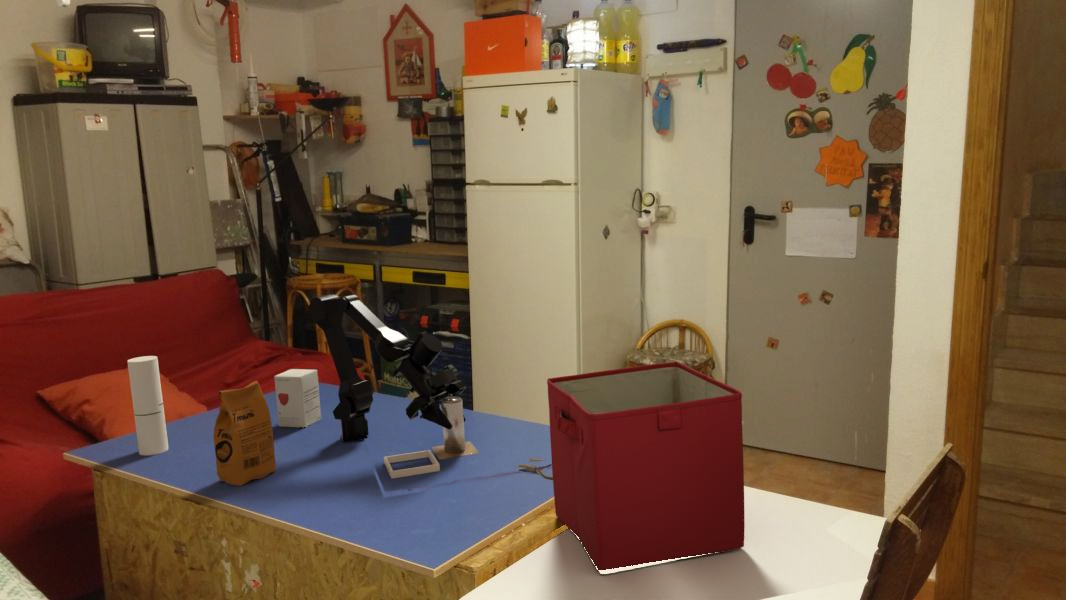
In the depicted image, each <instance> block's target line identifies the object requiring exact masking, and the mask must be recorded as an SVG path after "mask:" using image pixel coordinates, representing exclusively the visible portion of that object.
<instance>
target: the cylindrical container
mask: <svg viewBox="0 0 1066 600" xmlns="http://www.w3.org/2000/svg"><path fill="white" fill-rule="evenodd" d="M158 358H159V357H158V356H156V355H146V356H145V355H143V356H137V357H133V358H130V359H127V369H128V376H129V385H130V391H131V393H130V394H131V399H132V407H133V416H134V421H135V422H134V425H135V431H136V438H137V439H136V440H137V447H138V453H139V455H140V456H155V455H159V454H162V453H163V454H164V453H165V452H167V451H168V450H169V449H170V448H169V439H168V434H167V425H166V424H167V423H166V416H165V407H164V401H163V392H162V391H163V390H162V385H161V383H162V382H161V377H160V376H161V375H160V367H159V359H158Z"/></svg>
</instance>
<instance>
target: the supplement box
mask: <svg viewBox="0 0 1066 600" xmlns="http://www.w3.org/2000/svg"><path fill="white" fill-rule="evenodd" d="M318 374H319V373H318V370H317V369H307V368H306V369H305V368H304V369H303V368H302V369H300V368H290V369H287V370H286V371H283V372H281V373H278V374H276V375H274V388H275V397H276V398H275V399H276V408H277V416H278V417H277V418H278V427H284V428H286V427H287V428H300V427H302V428H303V429H304V427H306V428H307V427H309V425H310V426H311V425H313V424H315V423H317V422H318V421H321V420H322V411H321V410H322V409H321V402H320V401H321V400H320V391H319V390H320V386H319V375H318Z"/></svg>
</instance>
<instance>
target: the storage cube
mask: <svg viewBox="0 0 1066 600" xmlns="http://www.w3.org/2000/svg"><path fill="white" fill-rule="evenodd" d="M546 384H547V398H548V412H549V413H548V414H549V416H548V417H549V434H550V452H551V464H552V465H551V471H552V473H551V474H552V477H553V479H552V486H553V496H554V512H555V516H556V517H557V518H558V519H559V520H560V521H561V522H562V523H563V524H564V525H565V527H567V528H568V530H570V529H571V530H572V531H573V532H574V533H575V534H576V535H577V536H578V537H579V539H580V541H581V542H582V544H583V546H584V547H585V549H586V551H587V552H588V554H589V556H590V558H591V559H592V560H593V562H594V564H595V566H597V568H598V570H606V569H612V568H613V569H614V568H619V567H626V566H631V565H632V566H633V565H638V564H643V563H649V562H656V561H662V560H668V559H675V558H681V557H688V556H696V555H702V554H708V553H715V552H722V553H724V552H723V551H726V552H729V551H728V550H731V551H734V550H733V549H735V550H738V549H741V548H744V547H745V529H746V528H745V526H746V524H745V475H744V473H745V472H744V470H745V469H744V446H743V445H744V439H743V403H742V402H743V401H742V398H743V397H742V396H743V394H742V392H741V391H740V390H738V389H736V388H735V387H733V386H731V385H728V384H727V383H726V384H725V383H724V382H722V381H719V380H717V379H715V378H713V377H710V376H709V375H707V374H704V373H702V372H700V371H698V370H695V369H694V368H692V367H690V366H688V365H686V364H685V363H682V362H680V361H672V362H670V361H669V362H660V363H659V362H658V363H652V364H645V365H637V366H630V367H629V366H628V367H622V368H621V367H620V368H615V369H608V370H601V371H594V372H593V371H592V372H586V373H579V374H573V375H566V376H565V375H564V376H557V377H552V378H551V377H550V378H549V377H548V378H547V379H546ZM583 546H582V547H583Z"/></svg>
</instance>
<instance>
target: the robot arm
mask: <svg viewBox="0 0 1066 600" xmlns="http://www.w3.org/2000/svg"><path fill="white" fill-rule="evenodd" d="M308 312H309V314H310V316H311V318H312V320H313V322H314V323H315V325H317V326H318V327H319V328H320V329H321V330H322V331H323V334H324V337H325V340H326V343H327V346H328V348H329V351H330V354H331V358H332V360H333V363H334V366H335V370H336V372H337V375H338V379H339V389H338V393H337V394H338V400H339V403H338V404H337V406H336V407H335V408H334V409H333V410H332V414H333V418H334V419H335V420H340V429H341V430H340V431H341V434H340V438H341V440H342V443H350V442H357V441H363V440H365V439H368V438H369V437H368V436H369V423H368V419H367V418H366V414H368V413H370V411H371V406H372V403H373V402H374V396H373V395H374V391H373V390H372V386H371V383H370V381H369V379H366V380H363V378H361V376H359V373H358V370H357V367H356V364H355V361H354V358H353V355H352V353H351V349H350V346H349V342H348V340H347V336H346V334H345V330H344V328H343V327H344V326H343V320H344V315H346V316H347V317H348V318H349V319H350V320H352V322H354V323H355V324H356V325H357V326H358V327H359V328H360V329H361V330H362V331H363V332H364V333H365V334H366V335H367V336H368V337H369V338H370V339H371V340H372V342H373V343H374V348H375V350H376V352H377V353H378V354H379V356H380V357H381V358H382V359H383V361H384V362H386V363H394V362H397V361H400V360H401V361H400V362H399V363H398V364H395V365H393V373H392V375H393V377H397V376H402V377H403V378H404V379H405V381H406V382H407V383H408V385H409V386H410V389H409V391H410V392H411V394H414V393H416V394H417V395H418V396H417V397H414V399H412V401H411V402H410V403H409V404H408V405H407V407H405V415H406V416H407V417H408V418H409V420H410V421H411V420H414V419H416V418H418V417H419V419H420V420H422V419H424V420H426V421H429V422H432V423H434V424H437V425H439V426H441V427H442V428H443V427H445V428H447V429H449V430H450V429H451V428H452V425H451V423H450V422H449V420H448V419H447V418H446V416H445V415H444V413H443V412H442V408H441V407H440V402H441V401H442V399H443V398H446V397H460V395H461V394H462V393H463V392H464V391H465V389H466V388H467V385H466V384H465V382H463V380H459V379H458V378H457V376H458V375H459V373H458V372H459V371H458V370H457V368H456V367H455V366H454V365H453V364H449V365H447V366H445V367H443V371H440V372H436V371H429V370H428V369H427V368H426V367H429V366H430V365H432V363H433V362H434V361H435V360H436V358H437V357H438V356H439V355H440V353H441V352H442V351H443V350H444V346H443V345H444V344H443V343H442V341H441V339H439V338H437V337H435V336H433V335H432V334H428V332H427V331H423V332H419V334H418V335H417V336H416V337H417V338H416V339H415V340H414V341H412V340H409V338H408V337H406V336H405V335H403V334H402V333H401V332H399V331H398V330H397V331H396V330H394V329H391V328H390V327H388V326H387V325H386V324H384V323H383V322H382V321H381V320H380V319H379V318H378V316H376V315H375V314H374V313H373V312H372V311H371V310H370V309H369V308H368V307H367V306H366V305H365V304H364V303H363V302H362V301H361V300H360V297H359V296H357V295H356V294H350V295H343V296H338V295H336V294H334V293H330V294H329V293H328V294H325V295H320V296H316V297H312V299H310V302H309V304H308ZM419 411H420V413H421V415H419V414H420V413H419ZM463 418H464V423H465V422H466V420H467V419H466V417H465V414H464V413H463Z"/></svg>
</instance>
